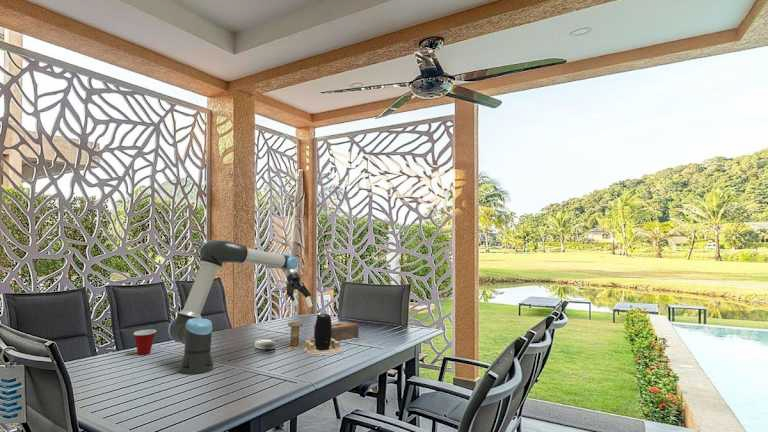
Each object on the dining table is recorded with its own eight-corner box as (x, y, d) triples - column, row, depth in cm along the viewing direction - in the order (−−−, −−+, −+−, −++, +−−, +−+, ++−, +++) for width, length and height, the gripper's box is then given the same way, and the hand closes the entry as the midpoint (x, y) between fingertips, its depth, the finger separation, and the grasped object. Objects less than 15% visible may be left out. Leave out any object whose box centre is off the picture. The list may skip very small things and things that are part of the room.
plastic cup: (127, 354, 221) (129, 331, 222) (146, 350, 231) (148, 328, 232) (139, 357, 216) (141, 334, 217) (159, 353, 226) (160, 330, 227)
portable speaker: (331, 350, 237) (332, 315, 238) (315, 351, 234) (316, 316, 236) (329, 346, 245) (330, 313, 246) (313, 347, 243) (315, 313, 244)
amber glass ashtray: (343, 354, 236) (343, 344, 236) (310, 357, 227) (311, 346, 228) (333, 346, 252) (333, 337, 252) (302, 349, 243) (302, 339, 244)
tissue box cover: (344, 335, 286) (345, 321, 286) (358, 339, 275) (358, 324, 276) (313, 340, 268) (314, 325, 268) (327, 345, 257) (327, 328, 258)
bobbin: (303, 348, 244) (304, 324, 246) (288, 350, 241) (290, 324, 242) (299, 345, 252) (300, 321, 253) (285, 346, 248) (286, 322, 249)
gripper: (300, 281, 267) (312, 310, 258) (273, 276, 246) (284, 308, 236) (309, 274, 265) (320, 304, 255) (282, 269, 244) (294, 301, 234)
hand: (303, 306), depth 246 cm, fingers open, 13 cm apart
